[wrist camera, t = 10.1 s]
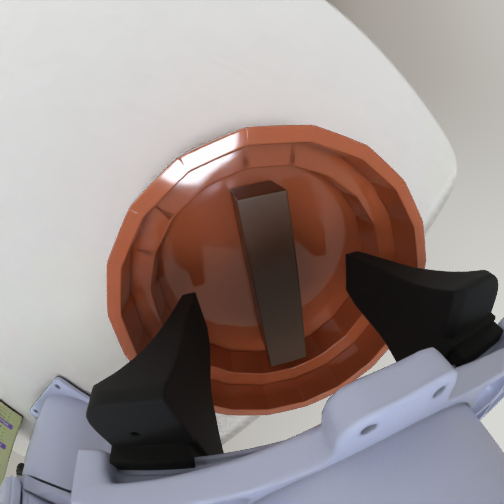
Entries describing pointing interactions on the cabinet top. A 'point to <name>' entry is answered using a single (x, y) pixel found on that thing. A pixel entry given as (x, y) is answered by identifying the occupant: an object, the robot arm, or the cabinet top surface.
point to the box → (7, 436)
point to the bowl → (233, 264)
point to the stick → (271, 267)
